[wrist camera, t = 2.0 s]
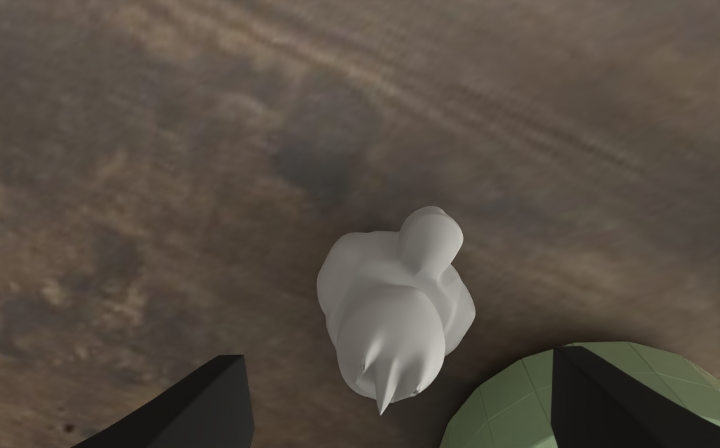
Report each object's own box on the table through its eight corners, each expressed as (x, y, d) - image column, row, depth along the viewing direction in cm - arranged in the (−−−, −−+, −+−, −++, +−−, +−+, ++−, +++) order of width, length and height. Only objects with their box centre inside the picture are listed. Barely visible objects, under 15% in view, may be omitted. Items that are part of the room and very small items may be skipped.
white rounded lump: (300, 305, 20) (240, 441, 12) (373, 160, 18) (356, 213, 11) (419, 363, 20) (432, 530, 13) (503, 225, 19) (577, 323, 11)
